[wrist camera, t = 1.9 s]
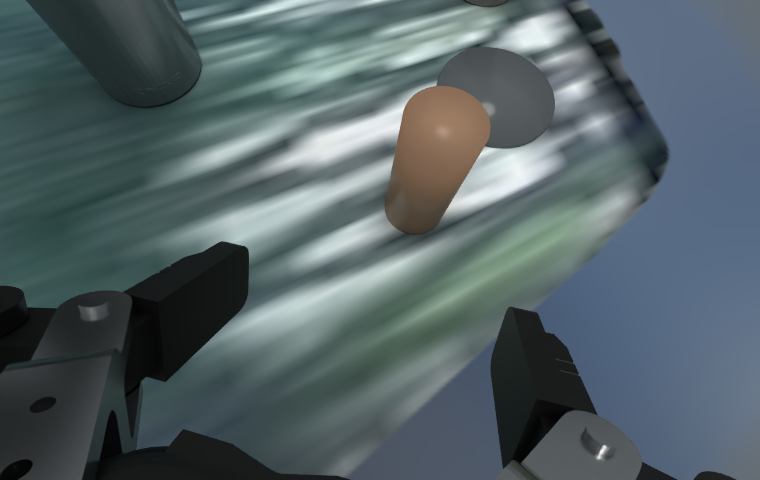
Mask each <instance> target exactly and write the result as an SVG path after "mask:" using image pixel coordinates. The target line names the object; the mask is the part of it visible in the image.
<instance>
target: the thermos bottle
mask: <svg viewBox="0 0 760 480" xmlns="http://www.w3.org/2000/svg"><path fill="white" fill-rule="evenodd" d="M465 1H467V2H469V3H472V4H475V5H479V6H496V5H500V4H502V3H505V2H506V1H507V0H465Z"/></svg>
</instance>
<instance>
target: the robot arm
mask: <svg viewBox="0 0 760 480" xmlns="http://www.w3.org/2000/svg"><path fill="white" fill-rule="evenodd" d="M26 1H27V2H28V3H29V4H30V6H31V7H32V8H33V9H34V10H35V11H36V12H37V14H38V15H39V16H40V17H41V18H42V19H43V20H44V21H45V23H46V24H47V25H48V26H49V27H50V28H51V29H52V30H53V32H54V33H55V34H56V35H57V36H58V37H59V38H60V39H61V41H62V42H63V43H64V44H65V45H66V46H67V47H68V48H69V50H70V51H71V52H72V53H73V54H74V55H75V56H76V58H77V59H78V60H79V61H80V62H81V63H82V65H83V66H84V67H85V68H86V69H87V70H88V71H89V72H90V73H91V75H92V76H93V77H94V78H95V79H96V80H97V81H98V82H99V83H100V85H101V86H102V87H103V88H104V89H105V90H106V91H107V92H108V94H109V95H110V96H112V97H113V98H115V99H116V100H118V101H120V102H123V103H125V104H128V105H133V106H155V105H161V104H164V103H167V102H170V101H172V100H174V99H176V98H178V97H180V96H181V95H183V94H184V93H185V92H187V91H188V90H189V89H190V88H191V87H192V86H193V85H194V83H195V82H196V80H197V78H198V76H199V73H200V70H201V59H200V55H199V52H198V50H197V48H196V46H195V44H194V42H193V40H192V38H191V36H190V34H189V32H188V30H187V28H186V26H185V23H184V21H183V19H182V17H181V15H180V13H179V11H178V9H177V7H176V5H175V2H174V0H26ZM248 279H249V252H248V249H247V248H246V247H245V246H241V245H237V244H232V243H228V242H223V241H222V242H219V243H217V244H215V245H214V246H212V247H210V248H209V249H207V250H205V251H204V252H201V253H198V254H194V255H191V256H187V257H184V258H182V259H181V260H179V261H177V262H175V263H174V264H172V265H171V267H167V268H165V269H163V270H161V271H160V273H156V274H154V275H152V276H151V277H149V278H147V279H145V280H144V281H142V282H140V283H138V284H137V285H135V286H133V287H131V288H130V289H128V290H126V291H124V292H119V291H96V292H90V293H86V294H82V295H79V296H76V297H74V298H71V299H69V300H67V301H65V302H64V303H63V304H61V305H60V306H59V307H58V308H57V309H55V308H28V307H27V305H26V301H25V297H24V293H23V291H22V290H21V289H19V288H16V287H11V286H0V480H350V479H346V478H343V477H340V476H326V475H298V474H280V473H276V472H274V471H272V470H271V469H269V468H267V467H266V466H264V465H263V464H261V463H260V462H258V461H257V460H255V459H254V458H252V457H251V456H249V455H248V454H246V453H245V452H243V451H242V450H240V449H239V448H237V447H236V446H234V445H233V444H231V443H227V442H224V441H221V440H217V439H214V438H211V437H207V436H204V435H201V434H198V433H194V432H191V431H188V430H184V429H183V430H182V431H181V433H180V434H179V435H178V436H177V437H176V439H175V440H174V441H173V442H172V443H171V444H170V446H162V447H150V448H144V449H138V450H136V448H137V439H138V431H139V423H140V414H141V406H142V397H143V385H142V380H143V379H144V378H145V377H149V378H153V379H156V380H160V381H163V382H166V381H167V380H168V379H169V378H170V377H171V376H172V375H173V374H174V373H175V372H177V371H178V370H179V369H180V368H181V367H182V366H183V365H184V364H185V363H186V362H187V361H188V360H189V359H190V358H191V357H192V356H193V355H194V354H195V353H196V352H197V351H198V350H199V349H200V348H202V347H203V346H204V345H205V344H206V343H207V342H208V341H209V340H210V339H211V338H212V337H213V336H214V335H215V334H216V333H217V332H218V331H219V330H220V329H221V328H222V327H223V326H224V325H225V324H227V323H228V322H229V321H230V320H231V319H232V318H233V317H234V316H235V315H236V314H237V313H238V312H239V311H240V310H241V309H242V307H243V306H244V304H245V302H246V299H247V296H248ZM578 374H579V373H578V371H577V369H576V366H575V364H573V360H572V358H571V355H570V353H569V351H568V349H567V347H566V346H565V345H564V344H563V343H562V342H561V341H560V340H559V339H558V338H557V337H556V336H555V335H554V334H550V333H546V332H545V330H544V328H543V325H542V323H541V320H540V318H539V315H538V313H536V312H532V311H528V310H523V309H519V308H515V307H509V308H508V309H507V311H506V314H505V316H504V319H503V322H502V325H501V329H500V332H499V335H498V338H497V341H496V344H495V347H494V350H493V353H492V358H491V378H492V387H493V394H494V402H495V410H496V418H497V426H498V434H499V441H500V449H501V456H502V465H503V470H502V472H500V474H499V475H498V476H497V477H496V478H495V479H494V480H677V479H675V478H673V477H671V476H669V475H667V474H665V473H663V472H661V471H659V470H657V469H655V468H652V467H651V466H649V465H647V464H645V463H643V462H642V461H641V456H640V454H639V451H638V449H637V448H636V446H635V445H634V443H633V442H632V441H631V440H630V439H629V437H627V435H626V434H625V433H624V432H622V431H621V430H620V429H619V428H618V427H616V426H615V425H613V424H612V423H611V422H609V421H607V420H606V419H604V418H602V417H600V416H598V415H597V413H596V411H595V408H594V406H593V404H592V402H591V400H590V397H589V395H588V393H587V391H586V388H585V386H584V384H583V382H582V380H581V377H580V376H578ZM694 480H736V479H733V478H731V477H729V476H726V475H724V474H721V473H716V472H710V471H709V472H708V471H706V472H701V473H699V474H698V475H697V476H696V477H695V479H694Z"/></svg>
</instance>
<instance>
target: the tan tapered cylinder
mask: <svg viewBox="0 0 760 480" xmlns="http://www.w3.org/2000/svg"><path fill="white" fill-rule="evenodd" d="M490 129H491V126H490V120H489V116H488V114H487V112H486V110H485V108H484V107H483V106H482V104H481V103H480V102H479V101H478V100H477V99H476V98H475V97H473V96H472V95H470V94H469V93H467V92H465V91H463V90H460V89H458V88H454V87H449V86H434V87H429V88H426V89H424V90H421V91H419V92H418V93H416V94H415V95H414V96H413V97H412V98H411V99H410V100H409V101H408V102H407V104H406V106H405V109H404V112H403V116H402V121H401V126H400V131H399V136H398V141H397V146H396V151H395V156H394V161H393V166H392V171H391V175H390V180H389V185H388V190H387V195H386V200H385V212H386V215H387V217H388V219H389V221H390V222H391V223H392V225H393V226H395V227H396V228H397V229H399V230H400V231H402V232H405V233H408V234H423V233H426V232H428V231H430V230H432V229H433V228H434V227H435V226H436V225H437V224H438V223H439V221H440V219H441V218H442V216H443V214H444V213H445V211H446V209H447V208H448V206H449V204H450V203H451V201H452V199H453V198H454V196H455V194H456V193H457V191H458V189H459V188H460V186H461V184H462V183H463V181H464V179H465V178H466V176H467V174H468V173H469V171H470V169H471V168H472V166H473V164H474V163H475V161H476V160H477V158H478V156H479V155H480V153H481V151H482V150H483V148H484V146H485V145H486V143H487V141H488V139H489V136H490Z"/></svg>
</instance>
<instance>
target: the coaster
mask: <svg viewBox="0 0 760 480" xmlns="http://www.w3.org/2000/svg"><path fill="white" fill-rule="evenodd" d="M437 86H449V87H454V88H458V89H460V90H463V91H465V92H467V93H469V94H470V95H472V96H473V97H475V98H476V99H477V100H478V101H479V102H480V103H481V104H482V106H483V107H484V108H485V110H486V112H487V114H488V116H489V120H490V126H491V129H490V136H489V139H488V141H487V143H486V145H485V146H489V147H494V148H513V147H518V146H522V145H525V144H527V143H529V142H531V141H533V140H534V139H536V138H537V137H538V136H540V135H541V134H542V133H543V131H544V130H545V129H546V128H547V126H548V125H549V123H550V122H551V120H552V117H553V114H554V109H555V100H554V94H553V91H552V88H551V86H550V84H549V82H548V80H547V79H546V77H545V76H544V74H543V73H542V72H541V71H540V70H539V69H538V68H537V67H536V66H535V65H534V64H532V63H531V62H530V61H528V60H527V59H525V58H524V57H522V56H520V55H518V54H515V53H513V52H510V51H507V50H504V49H499V48H490V47H482V48H474V49H470V50H467V51H464V52H462V53H460V54H458V55H456V56H455V57H453V58H452V59H451V60H450V61H449V62H448V63H447V64H446V65H445V66H444V68H443V70H442V72H441V73H440V77H439V80H438V83H437Z"/></svg>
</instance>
